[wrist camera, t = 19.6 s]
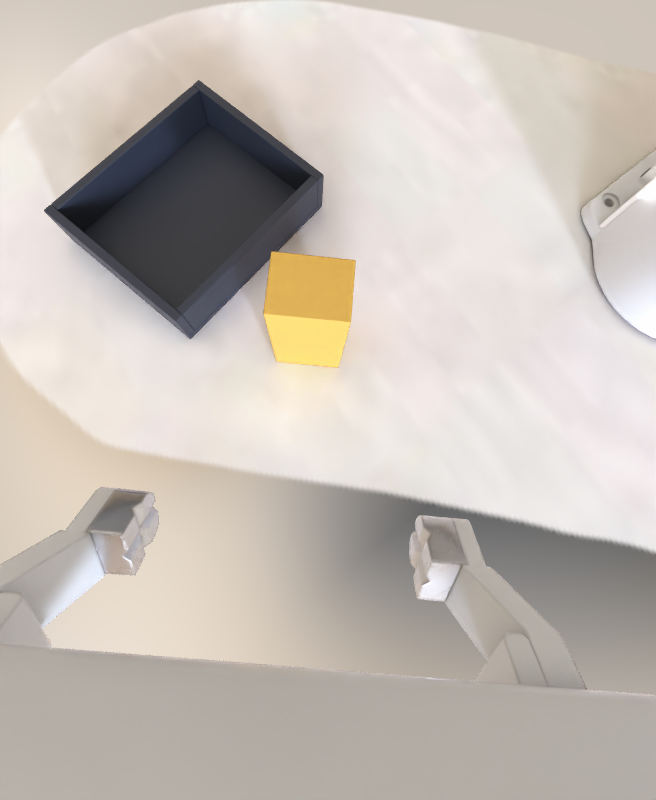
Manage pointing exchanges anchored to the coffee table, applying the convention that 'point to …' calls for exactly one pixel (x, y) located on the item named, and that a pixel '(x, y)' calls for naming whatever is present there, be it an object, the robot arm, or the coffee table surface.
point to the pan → (190, 206)
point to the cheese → (309, 307)
